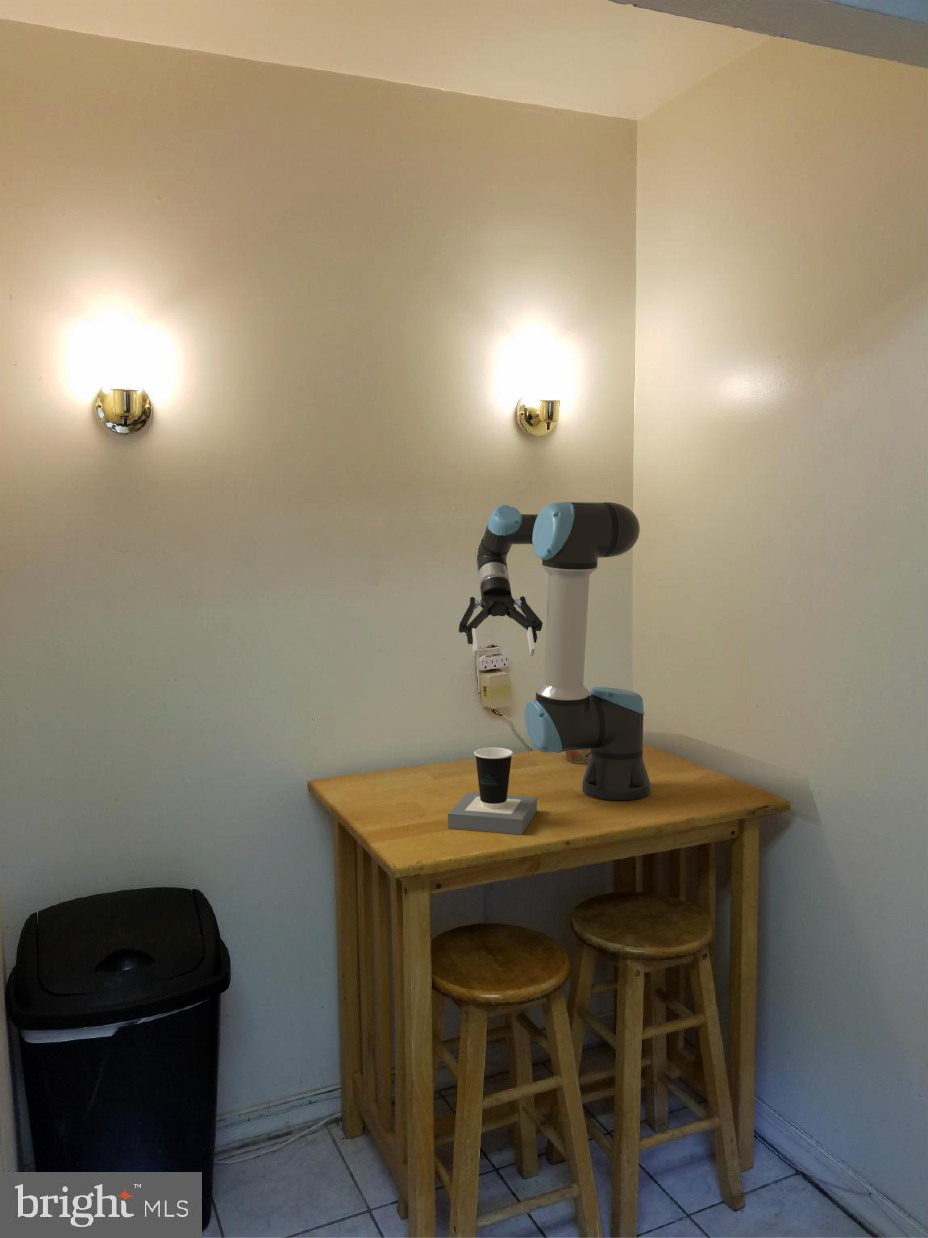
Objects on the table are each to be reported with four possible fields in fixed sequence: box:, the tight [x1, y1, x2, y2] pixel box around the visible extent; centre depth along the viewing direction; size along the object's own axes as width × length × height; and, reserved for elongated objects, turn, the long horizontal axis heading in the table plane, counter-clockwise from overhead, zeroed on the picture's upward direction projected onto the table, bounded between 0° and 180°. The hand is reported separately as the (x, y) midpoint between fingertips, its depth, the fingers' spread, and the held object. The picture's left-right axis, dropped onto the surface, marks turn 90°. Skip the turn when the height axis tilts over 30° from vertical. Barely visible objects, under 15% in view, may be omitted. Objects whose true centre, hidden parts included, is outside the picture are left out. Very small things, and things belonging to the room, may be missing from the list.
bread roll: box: [564, 749, 590, 765], centre depth 235 cm, size 10×10×8 cm
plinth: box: [447, 791, 538, 836], centre depth 189 cm, size 15×15×3 cm
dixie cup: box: [473, 747, 514, 808], centre depth 188 cm, size 8×8×11 cm
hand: (504, 653), depth 218 cm, fingers open, 13 cm apart
